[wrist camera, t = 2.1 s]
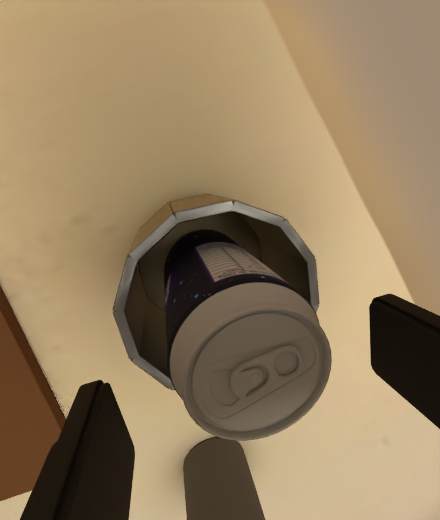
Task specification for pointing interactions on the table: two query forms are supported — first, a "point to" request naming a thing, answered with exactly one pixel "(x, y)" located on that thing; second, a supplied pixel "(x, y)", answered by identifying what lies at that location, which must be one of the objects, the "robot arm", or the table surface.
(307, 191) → the table surface
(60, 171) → the table surface
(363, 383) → the table surface
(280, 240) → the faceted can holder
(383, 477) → the table surface
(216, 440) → the bottle
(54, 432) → the mat
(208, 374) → the beverage can
